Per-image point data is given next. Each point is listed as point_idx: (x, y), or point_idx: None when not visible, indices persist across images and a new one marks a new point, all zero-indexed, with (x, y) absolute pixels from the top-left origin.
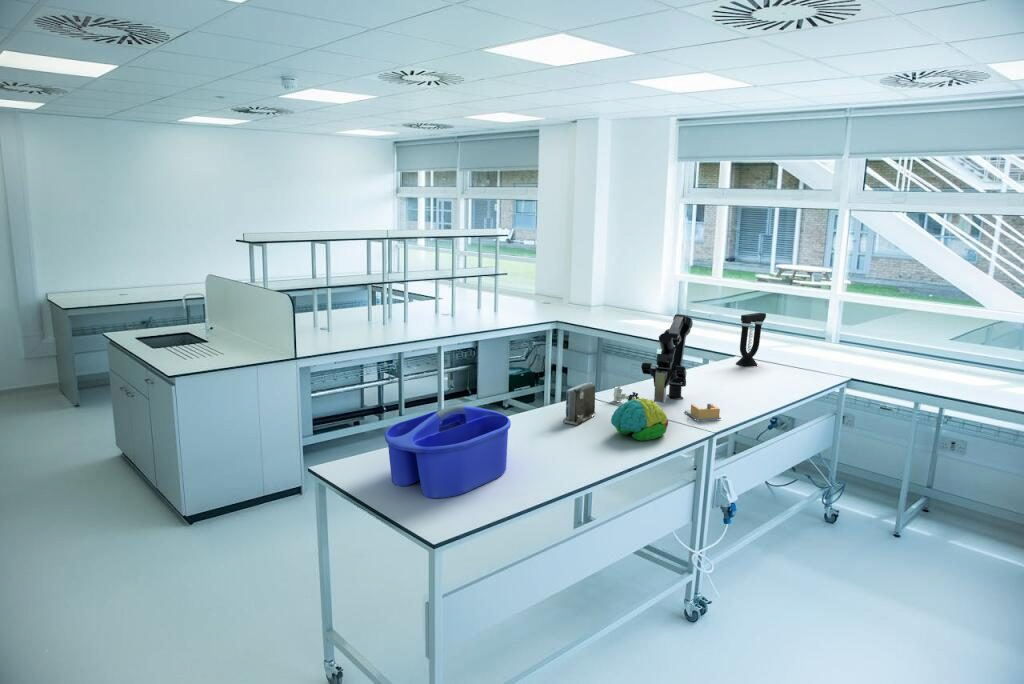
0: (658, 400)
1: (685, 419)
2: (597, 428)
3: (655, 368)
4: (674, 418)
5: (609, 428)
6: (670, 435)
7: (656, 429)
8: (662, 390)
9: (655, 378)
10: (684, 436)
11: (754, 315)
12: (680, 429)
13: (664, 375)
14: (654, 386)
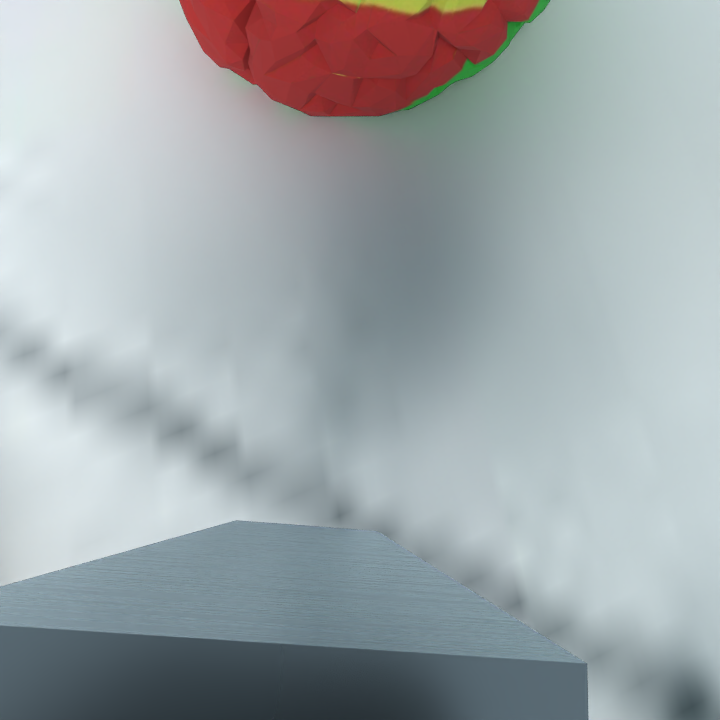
0: (311, 527)
1: (7, 533)
2: (707, 6)
3: None
4: (130, 521)
5: (628, 32)
6: (143, 22)
7: None
8: (228, 537)
9: (460, 591)
10: (27, 33)
11: None
12: (62, 191)
13: (7, 587)
14: None
